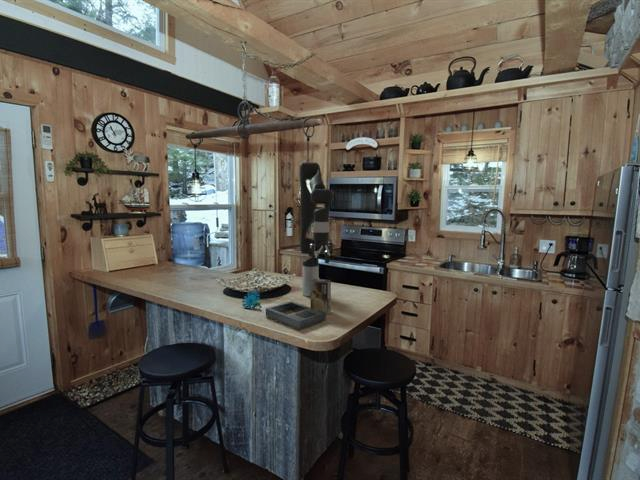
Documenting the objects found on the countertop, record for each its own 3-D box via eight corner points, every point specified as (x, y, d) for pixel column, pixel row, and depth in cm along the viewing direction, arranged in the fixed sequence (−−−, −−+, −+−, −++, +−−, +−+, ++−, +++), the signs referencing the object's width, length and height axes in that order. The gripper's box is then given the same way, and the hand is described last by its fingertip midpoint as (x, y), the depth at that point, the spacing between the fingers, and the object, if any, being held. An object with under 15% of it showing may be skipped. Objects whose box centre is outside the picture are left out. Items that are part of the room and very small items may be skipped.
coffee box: (331, 311, 171) (331, 279, 169) (327, 315, 165) (328, 282, 163) (313, 309, 173) (314, 278, 171) (309, 313, 167) (309, 281, 165)
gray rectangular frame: (291, 308, 174) (291, 300, 173) (325, 321, 157) (325, 312, 156) (265, 316, 162) (265, 307, 162) (299, 330, 146) (299, 320, 145)
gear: (237, 303, 176) (249, 288, 180) (243, 309, 180) (255, 293, 184) (252, 311, 169) (263, 294, 173) (257, 316, 173) (269, 300, 177)
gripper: (325, 229, 172) (325, 261, 174) (305, 231, 162) (304, 265, 164) (337, 230, 166) (336, 263, 168) (316, 232, 156) (316, 267, 158)
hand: (321, 264), depth 166 cm, fingers open, 8 cm apart
